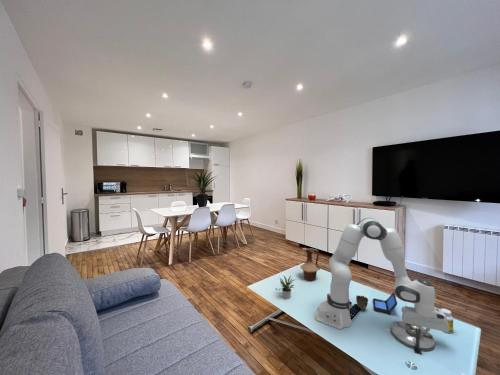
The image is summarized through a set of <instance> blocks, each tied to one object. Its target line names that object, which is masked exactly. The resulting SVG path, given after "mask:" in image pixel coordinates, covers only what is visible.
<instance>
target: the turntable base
mask: <svg viewBox="0 0 500 375" xmlns="http://www.w3.org/2000/svg"><path fill="white" fill-rule="evenodd" d="M390 333H391V335H392V337H393V338H394V339H395V340H396V341H397V342H398V343H400V344H401V345H403V346H405V347H407V348H410V349H412V350H414V349H416V348H415V347H412V346H409V345H407V344H405V343H403V342H402V341H400V340H399V339H398V338H396V337H395V336H394V334H393V333H392V331H391V330H390ZM413 348H414V349H413ZM435 348H436V343H435V342H434V347H433V348H431V349H420V350H421V352H424V353H426V352H432V351H433V350H435Z"/></svg>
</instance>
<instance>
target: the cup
mask: <svg viewBox="0 0 500 375" xmlns="http://www.w3.org/2000/svg"><path fill="white" fill-rule="evenodd" d="M355 299H356V300H355V301H356V304H357V307H358V308H359V307H360V308H361V311H365V310H366V308H367V307H368V304H369V303H368V302H369V299H368V297H366V296H364V295H356V296H355Z"/></svg>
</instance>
